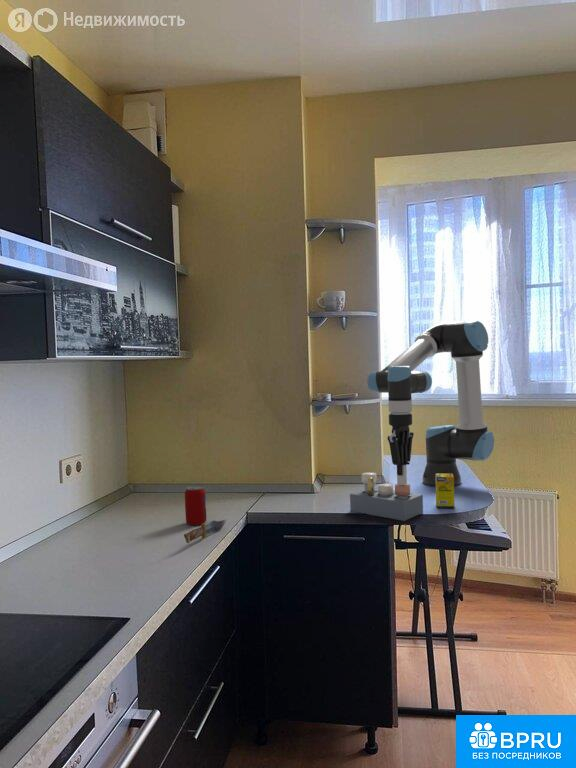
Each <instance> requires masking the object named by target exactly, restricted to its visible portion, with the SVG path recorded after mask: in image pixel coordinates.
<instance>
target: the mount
mask: <svg viewBox="0 0 576 768" xmlns="http://www.w3.org/2000/svg"><path fill="white" fill-rule="evenodd" d="M374 488H375V493H374V496H368V493H365V488H362V489H360V490H357V491H354V492H351V493H349V502H350V504H349V505H350V512H353V513H358V512H361V513H360V514H364V513H366V514H365V515H369V516H376V517H382V518H386V519H387V518H388V519H393V520H397V521H402V522H405V521H407V520H409V519H410V520H411V519H412V518H414V517H416V516H418V515H421V514H422V513H423V512H424V501H423V499H424V496H423V494H421V493H413V492H410V495H408V498H406V499H402V498H398V496H397V495H395V489H393V495H390V496H381V495H379V494H378V487H374Z"/></svg>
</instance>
